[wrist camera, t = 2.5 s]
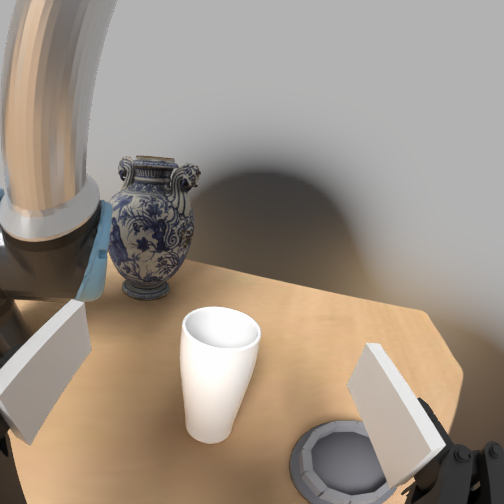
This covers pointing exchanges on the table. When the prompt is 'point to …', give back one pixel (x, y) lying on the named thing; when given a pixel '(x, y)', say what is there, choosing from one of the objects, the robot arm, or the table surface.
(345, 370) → the table surface
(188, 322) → the drinking glass
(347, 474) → the coaster
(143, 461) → the table surface
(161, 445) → the table surface
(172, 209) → the decorative vase
